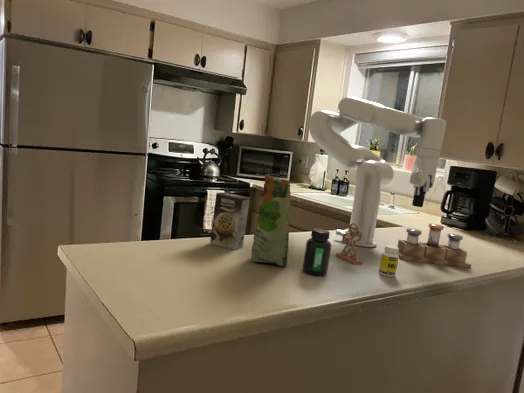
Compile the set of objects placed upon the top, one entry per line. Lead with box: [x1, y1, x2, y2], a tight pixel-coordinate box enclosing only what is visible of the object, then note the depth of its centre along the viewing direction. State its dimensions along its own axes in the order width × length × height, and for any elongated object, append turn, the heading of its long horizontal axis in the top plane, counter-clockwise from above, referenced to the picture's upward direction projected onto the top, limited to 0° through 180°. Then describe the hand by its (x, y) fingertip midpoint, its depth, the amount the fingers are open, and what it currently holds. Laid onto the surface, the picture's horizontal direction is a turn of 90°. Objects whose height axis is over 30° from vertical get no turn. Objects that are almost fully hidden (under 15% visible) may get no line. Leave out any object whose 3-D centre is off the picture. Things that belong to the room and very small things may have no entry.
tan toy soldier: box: [334, 223, 363, 266], centre depth 139 cm, size 9×4×12 cm, turn 30°
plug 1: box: [405, 227, 422, 245], centre depth 155 cm, size 5×5×8 cm
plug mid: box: [426, 223, 445, 248], centre depth 155 cm, size 5×5×8 cm
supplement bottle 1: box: [302, 228, 332, 277], centre depth 121 cm, size 7×7×12 cm
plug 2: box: [446, 233, 464, 250], centre depth 156 cm, size 5×5×8 cm
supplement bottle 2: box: [378, 244, 399, 278], centre depth 129 cm, size 5×5×8 cm
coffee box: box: [209, 191, 251, 251], centre depth 137 cm, size 9×6×16 cm
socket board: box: [396, 239, 472, 269], centre depth 156 cm, size 25×10×5 cm, turn 93°
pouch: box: [250, 173, 292, 267], centre depth 124 cm, size 11×12×25 cm
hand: (417, 206), depth 154 cm, fingers closed
